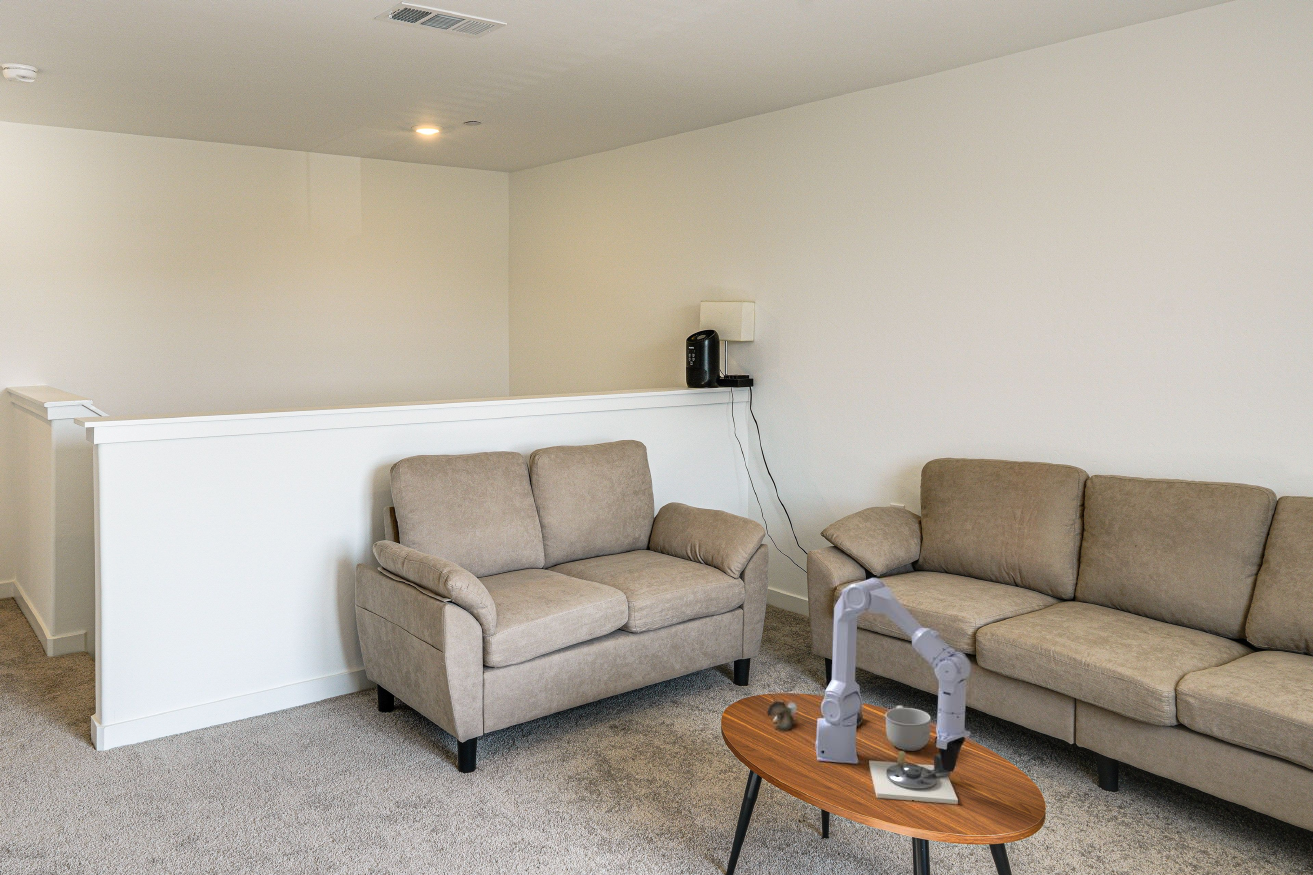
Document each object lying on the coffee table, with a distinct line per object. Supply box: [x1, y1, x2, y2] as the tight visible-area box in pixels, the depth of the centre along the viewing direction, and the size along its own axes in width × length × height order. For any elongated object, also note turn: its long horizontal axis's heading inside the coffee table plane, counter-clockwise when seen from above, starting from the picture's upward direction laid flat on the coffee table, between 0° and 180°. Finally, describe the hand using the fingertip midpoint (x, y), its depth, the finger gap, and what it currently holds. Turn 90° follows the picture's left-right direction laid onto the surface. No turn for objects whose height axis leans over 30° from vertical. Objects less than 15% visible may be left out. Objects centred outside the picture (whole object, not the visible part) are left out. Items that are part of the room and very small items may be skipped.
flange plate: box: [886, 753, 951, 789], centre depth 207 cm, size 15×11×4 cm
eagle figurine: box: [766, 699, 798, 732], centre depth 239 cm, size 8×7×9 cm
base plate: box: [868, 750, 959, 805], centre depth 206 cm, size 17×17×4 cm
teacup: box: [884, 705, 932, 752], centre depth 229 cm, size 14×11×8 cm
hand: (948, 769), depth 202 cm, fingers closed
